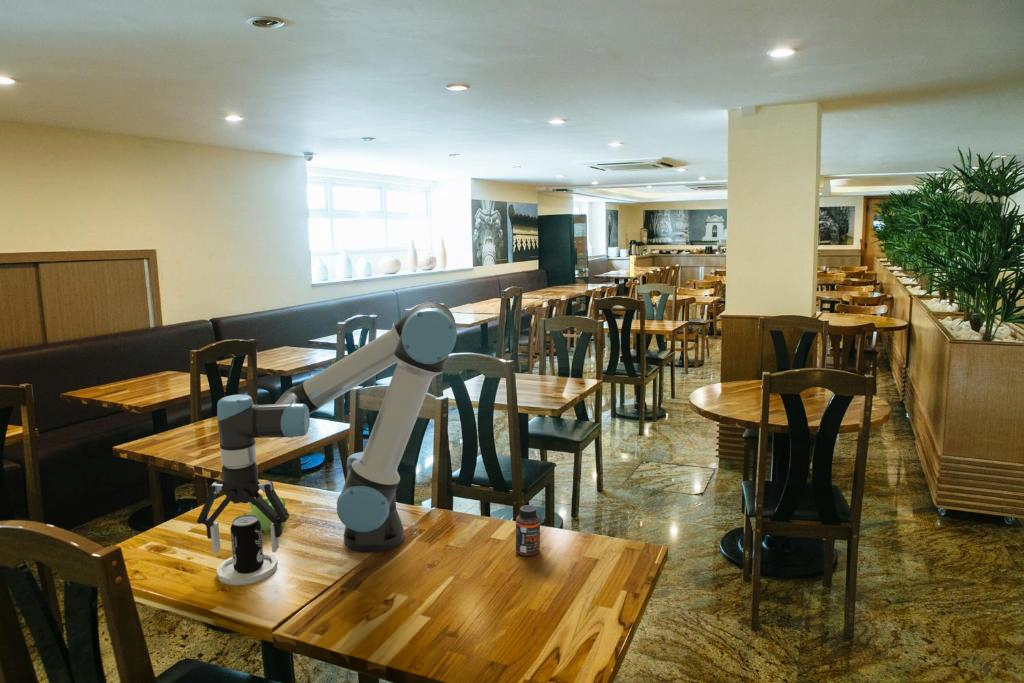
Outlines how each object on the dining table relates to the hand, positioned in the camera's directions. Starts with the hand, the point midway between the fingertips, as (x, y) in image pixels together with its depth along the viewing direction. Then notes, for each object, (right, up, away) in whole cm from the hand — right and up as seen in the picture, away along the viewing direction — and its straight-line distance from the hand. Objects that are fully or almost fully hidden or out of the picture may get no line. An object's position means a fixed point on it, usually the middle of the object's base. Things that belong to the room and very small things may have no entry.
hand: (246, 550), depth 161 cm
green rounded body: (-4, -1, +24) cm, 24 cm away
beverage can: (0, -5, +1) cm, 5 cm away
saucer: (0, -5, +1) cm, 5 cm away
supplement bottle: (+66, -3, +10) cm, 67 cm away
